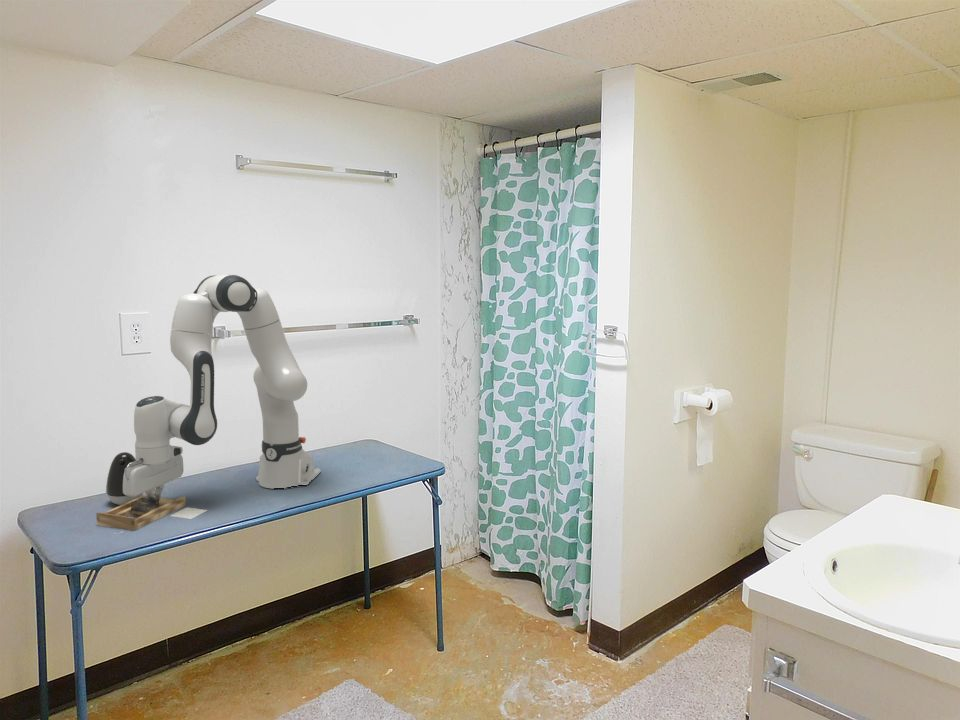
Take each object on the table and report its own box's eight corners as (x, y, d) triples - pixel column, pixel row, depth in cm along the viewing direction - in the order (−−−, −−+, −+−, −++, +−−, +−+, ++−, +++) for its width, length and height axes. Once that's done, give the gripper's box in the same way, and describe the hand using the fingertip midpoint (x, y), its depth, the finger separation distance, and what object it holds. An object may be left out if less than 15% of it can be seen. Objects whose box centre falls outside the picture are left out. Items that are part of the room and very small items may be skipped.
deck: (151, 504, 206) (150, 489, 205) (186, 509, 203) (185, 494, 202) (97, 529, 187) (96, 513, 186) (134, 534, 184) (133, 518, 183)
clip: (144, 504, 199) (144, 496, 198) (159, 506, 197) (158, 498, 197) (131, 510, 194) (130, 502, 193) (146, 512, 192) (145, 504, 192)
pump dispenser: (103, 509, 201) (100, 458, 199) (111, 497, 211) (108, 448, 208) (142, 507, 204) (139, 456, 201) (148, 495, 214) (145, 446, 211)
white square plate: (186, 511, 201) (186, 507, 201) (207, 514, 199) (207, 510, 199) (169, 520, 194) (169, 515, 194) (191, 523, 192) (191, 518, 192)
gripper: (134, 465, 186) (137, 515, 188) (186, 446, 206) (188, 491, 208) (115, 463, 188) (118, 512, 190) (168, 444, 208) (170, 489, 210)
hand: (155, 501), depth 199 cm, fingers closed
